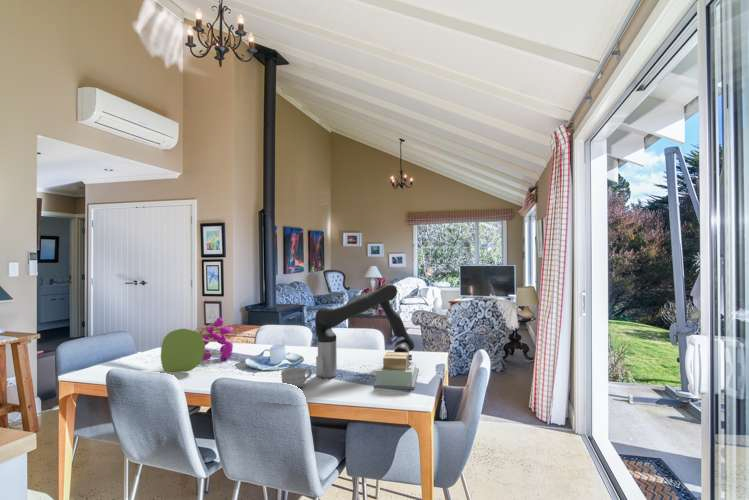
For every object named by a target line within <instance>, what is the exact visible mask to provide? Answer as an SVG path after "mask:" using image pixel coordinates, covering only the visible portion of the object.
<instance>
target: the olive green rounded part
mask: <svg viewBox="0 0 749 500" xmlns="http://www.w3.org/2000/svg"><path fill="white" fill-rule="evenodd" d="M224 321H225V320H223V319H222V317H219V316H218V317H217V318H216V319H215V320H214V322H213V323H210V324H208V325H206V326H205V327H204V328H203V327H201V330H200V332H198V331H197V330H198V327H196V328H195V330H191V329H188V328H178V329H175V330H172V331H170V332H168V333H167V334H166V335H165V336H164V338H163V340H162V343H161V348H160V361H161V367H162V369H163V371H164V372H168V373H169V372H171V373H172V372H173V373H183V372H184V373H187V372H191V371H192V370H194V369H195V368H196V367H197V366H198V365H199V364H200V363H201V362H202V361H203V360H205V361H207V360H211V357H212V355H215V356H217V355H220V358H219V360H221V361H225V360H228V359H230V358H231V357H232V355H233V349H234V343H233V342H232V341H228V340H227V339H226V336H225V335H228V334H231V332H233V331H234V327H233V326H223V327H221V326H222V325H223V324H224ZM215 329H217V330H218V333H214V331H215ZM204 331H205V332H206V333H203V332H204ZM219 333H220V334H219ZM210 339H212V340H210ZM210 342H216V343H218V344H219V345H221V346H220V348H216V349H214V350H213V353H212V352H210V350H208V349H206V346H207V345H208V344H209V343H210ZM217 349H218V350H219V351H220V352H219V353H215V352H216V350H217Z"/></svg>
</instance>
